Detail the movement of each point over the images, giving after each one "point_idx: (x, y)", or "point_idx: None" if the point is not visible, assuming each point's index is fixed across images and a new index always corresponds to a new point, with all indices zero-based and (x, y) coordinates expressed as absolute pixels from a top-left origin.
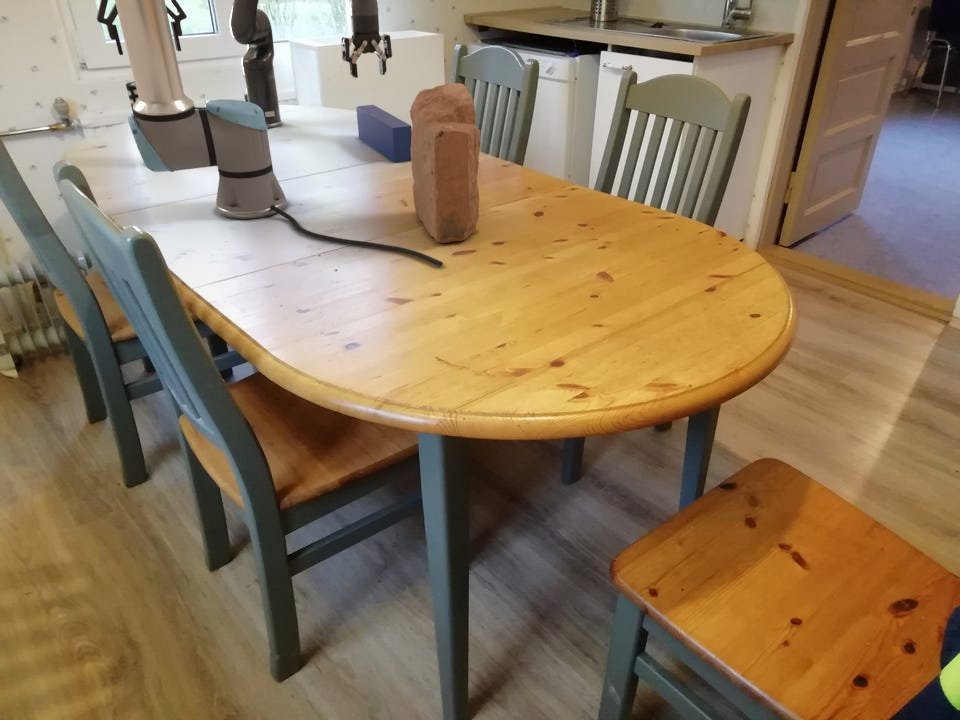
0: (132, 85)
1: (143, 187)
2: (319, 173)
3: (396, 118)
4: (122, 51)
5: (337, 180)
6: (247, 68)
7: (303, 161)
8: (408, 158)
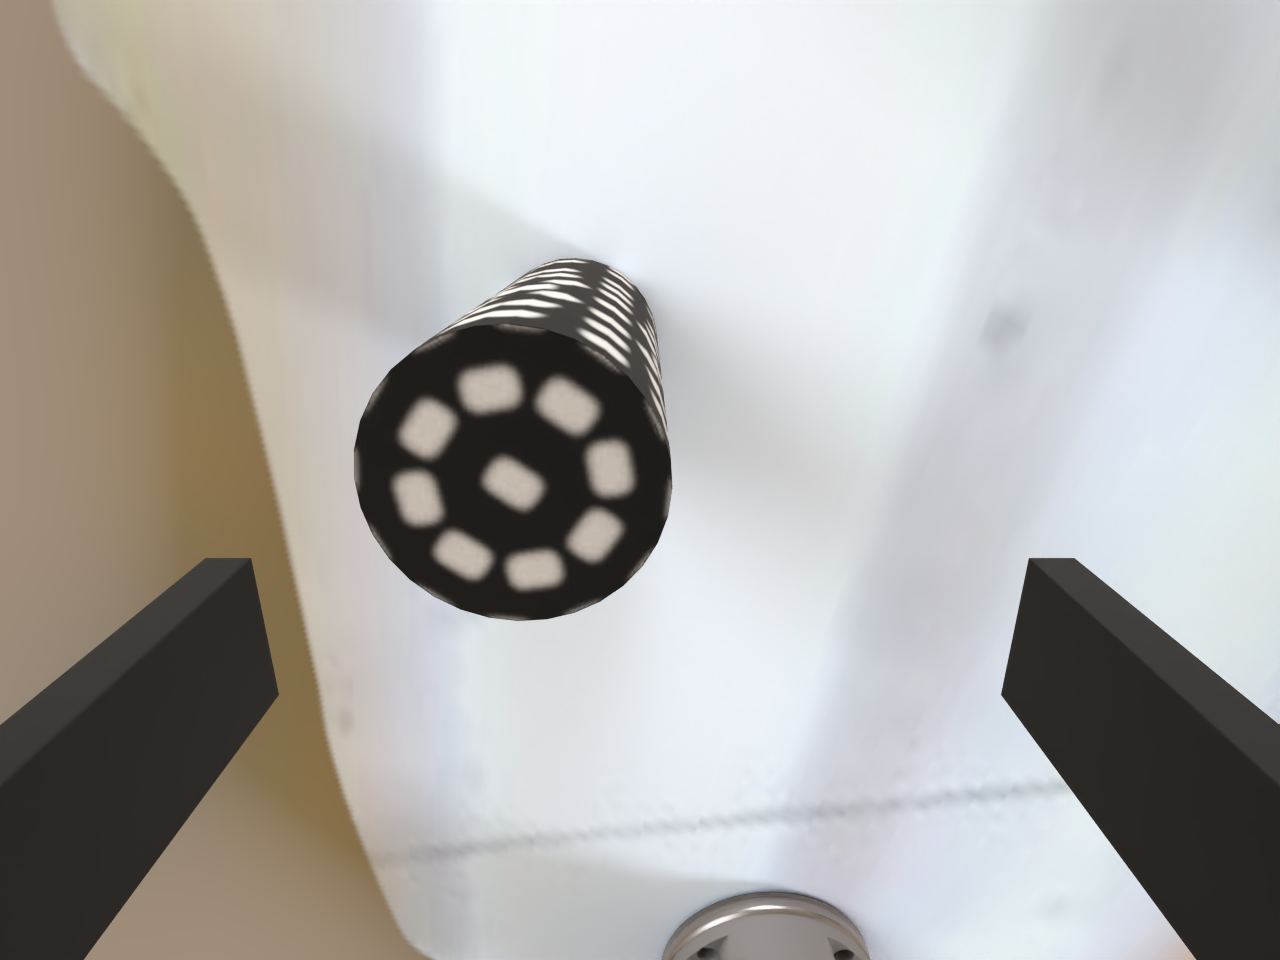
0: (413, 535)
1: (466, 658)
2: None
3: None
4: (257, 722)
5: (1116, 867)
6: None
7: None
8: None
